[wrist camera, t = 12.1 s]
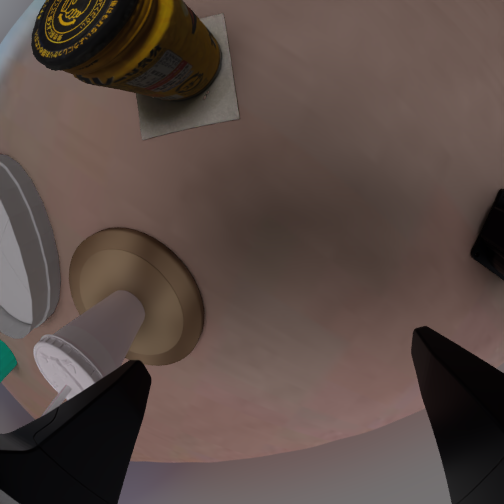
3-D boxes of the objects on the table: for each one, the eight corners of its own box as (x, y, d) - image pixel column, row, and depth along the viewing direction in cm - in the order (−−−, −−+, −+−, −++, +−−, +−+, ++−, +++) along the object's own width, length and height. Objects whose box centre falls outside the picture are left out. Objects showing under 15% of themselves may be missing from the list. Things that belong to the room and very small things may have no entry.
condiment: (223, 14, 15) (153, -82, 4) (240, 119, 18) (163, 91, 7) (133, 42, 16) (19, -1, 5) (144, 140, 19) (14, 157, 8)
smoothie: (110, 333, 25) (31, 435, 12) (90, 275, 23) (-18, 370, 10) (166, 340, 24) (93, 468, 11) (148, 276, 22) (36, 403, 9)
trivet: (225, 268, 22) (222, 274, 21) (184, 378, 27) (181, 385, 26) (81, 204, 22) (73, 207, 21) (74, 320, 27) (69, 326, 26)
